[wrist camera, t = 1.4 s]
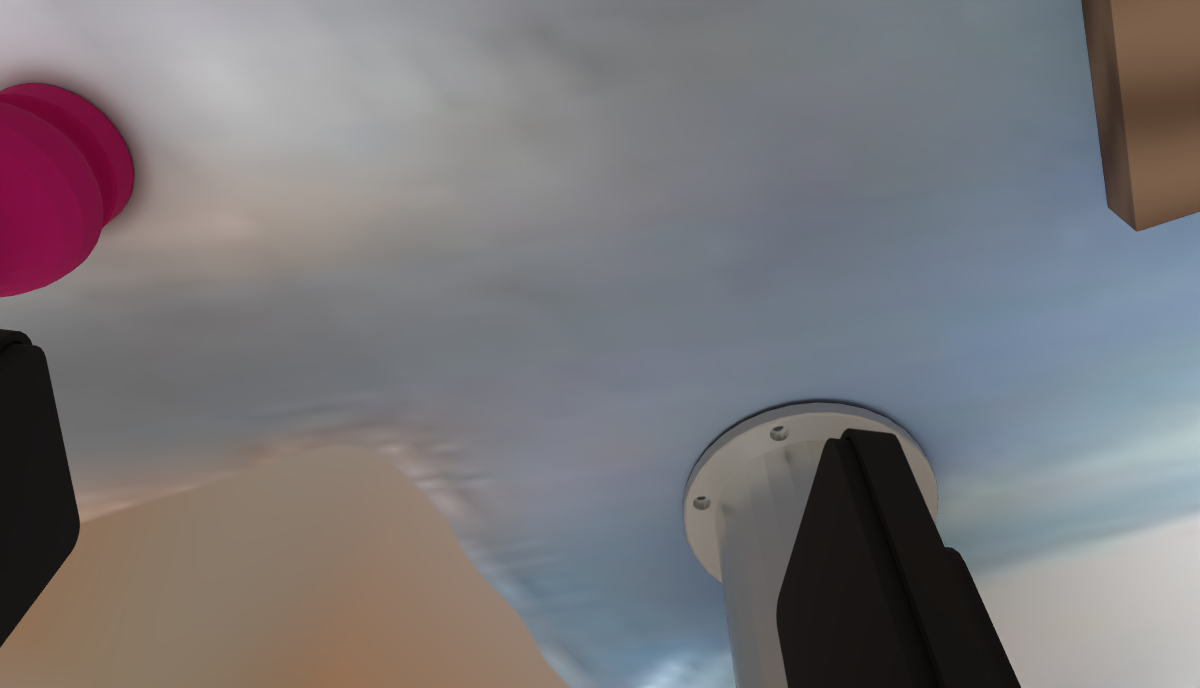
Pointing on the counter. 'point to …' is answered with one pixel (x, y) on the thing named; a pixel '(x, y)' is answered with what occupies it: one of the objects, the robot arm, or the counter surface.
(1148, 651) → the counter surface
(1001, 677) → the robot arm
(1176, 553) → the counter surface
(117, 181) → the pepper mill
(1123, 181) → the button panel
